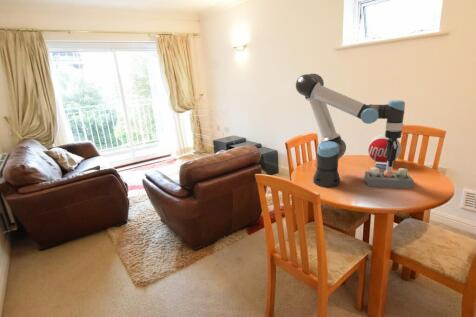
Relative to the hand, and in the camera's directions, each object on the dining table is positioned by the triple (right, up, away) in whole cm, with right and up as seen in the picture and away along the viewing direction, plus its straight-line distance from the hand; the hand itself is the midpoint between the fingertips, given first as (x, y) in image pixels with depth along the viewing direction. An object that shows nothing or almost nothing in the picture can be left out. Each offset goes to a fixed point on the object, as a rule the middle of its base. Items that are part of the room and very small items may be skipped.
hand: (389, 171), depth 148 cm
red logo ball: (+15, +4, +35) cm, 38 cm away
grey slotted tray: (0, -7, +2) cm, 7 cm away
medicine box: (+2, -4, +12) cm, 13 cm away
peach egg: (0, -6, +2) cm, 6 cm away
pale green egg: (+7, -4, -1) cm, 8 cm away
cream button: (-7, -4, +3) cm, 8 cm away
